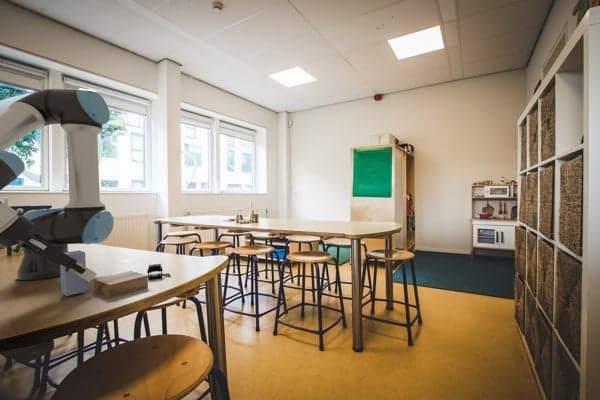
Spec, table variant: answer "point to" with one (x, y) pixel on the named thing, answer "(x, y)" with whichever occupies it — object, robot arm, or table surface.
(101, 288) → the base block
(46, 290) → the table surface
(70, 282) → the tower block
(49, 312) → the table surface
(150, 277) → the black piece
